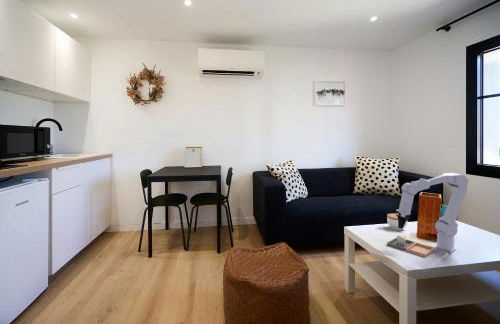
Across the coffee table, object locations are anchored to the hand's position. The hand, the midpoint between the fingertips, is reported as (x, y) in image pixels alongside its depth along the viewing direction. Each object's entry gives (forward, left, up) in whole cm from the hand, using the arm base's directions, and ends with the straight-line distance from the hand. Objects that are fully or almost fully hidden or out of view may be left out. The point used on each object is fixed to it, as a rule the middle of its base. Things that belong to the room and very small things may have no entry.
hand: (400, 227), depth 143 cm
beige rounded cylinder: (-5, -1, -12) cm, 13 cm away
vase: (-48, +6, -13) cm, 50 cm away
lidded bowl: (-35, -16, -13) cm, 40 cm away
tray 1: (-5, -1, -13) cm, 14 cm away
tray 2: (-5, +9, -13) cm, 16 cm away
